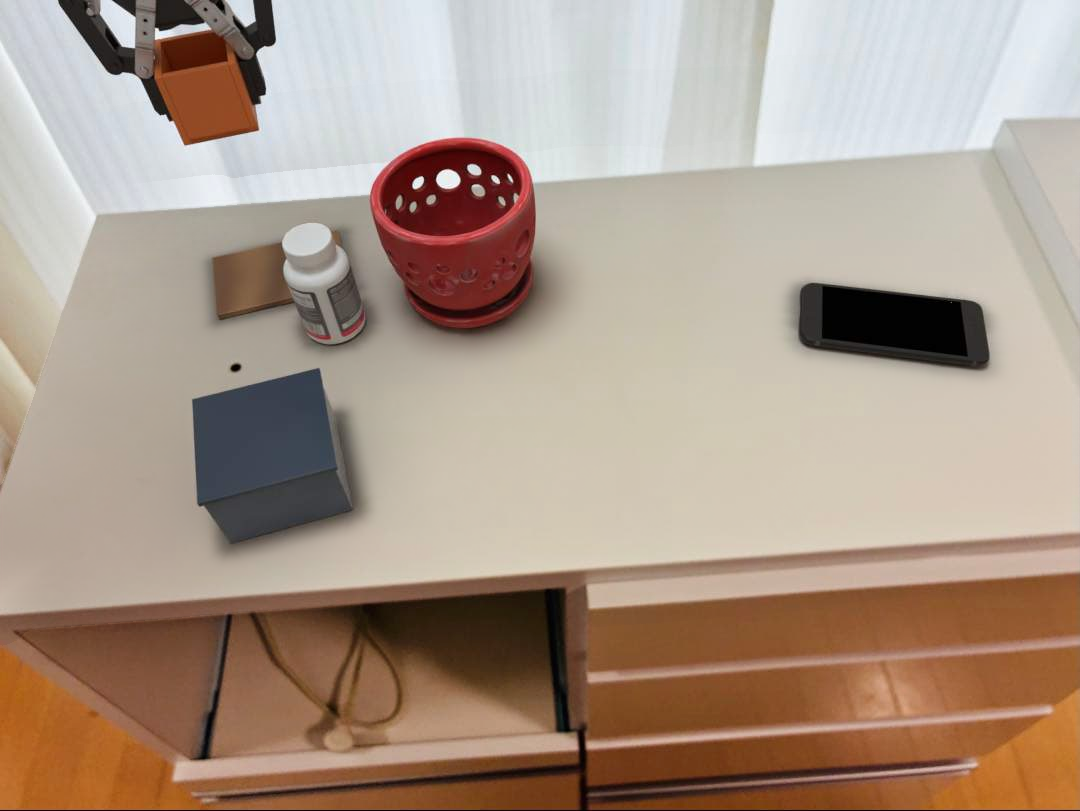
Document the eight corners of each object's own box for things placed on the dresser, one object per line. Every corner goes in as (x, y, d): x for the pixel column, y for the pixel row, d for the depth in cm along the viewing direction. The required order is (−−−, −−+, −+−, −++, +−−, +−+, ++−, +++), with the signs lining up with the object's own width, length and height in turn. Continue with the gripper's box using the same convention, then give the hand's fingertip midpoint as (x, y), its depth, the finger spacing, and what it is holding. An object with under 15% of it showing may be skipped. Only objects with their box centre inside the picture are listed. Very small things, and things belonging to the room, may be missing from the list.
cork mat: (219, 319, 74) (216, 315, 73) (214, 262, 79) (212, 257, 78) (351, 288, 76) (350, 283, 75) (339, 234, 80) (337, 229, 80)
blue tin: (227, 547, 60) (197, 504, 55) (220, 446, 65) (191, 399, 60) (356, 511, 61) (337, 466, 56) (338, 415, 67) (319, 367, 62)
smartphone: (799, 285, 73) (801, 277, 73) (979, 306, 71) (983, 298, 70) (796, 346, 69) (799, 339, 68) (988, 371, 66) (992, 364, 66)
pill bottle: (359, 295, 75) (333, 209, 67) (372, 336, 72) (347, 250, 64) (300, 312, 74) (267, 226, 66) (311, 353, 71) (278, 269, 63)
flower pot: (414, 239, 79) (392, 130, 70) (549, 249, 78) (545, 138, 68) (378, 339, 72) (347, 231, 62) (527, 352, 70) (518, 243, 60)
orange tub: (184, 146, 62) (154, 78, 58) (182, 106, 65) (153, 39, 61) (259, 130, 63) (235, 62, 58) (253, 92, 66) (230, 25, 62)
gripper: (-15, -100, 47) (118, 155, 60) (241, -140, 49) (315, 114, 62) (-1, -146, 51) (120, 100, 64) (233, -181, 53) (303, 64, 67)
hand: (215, 106), depth 63 cm, fingers closed on orange tub, 5 cm apart
